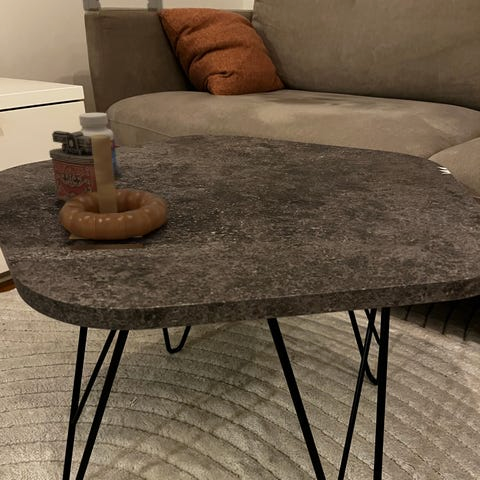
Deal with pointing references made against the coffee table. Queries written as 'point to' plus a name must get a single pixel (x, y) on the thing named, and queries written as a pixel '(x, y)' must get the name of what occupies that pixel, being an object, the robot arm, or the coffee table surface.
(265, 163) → the coffee table surface
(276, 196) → the coffee table surface
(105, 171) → the paper towel holder
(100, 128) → the pill bottle
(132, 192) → the ring
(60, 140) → the lighter
